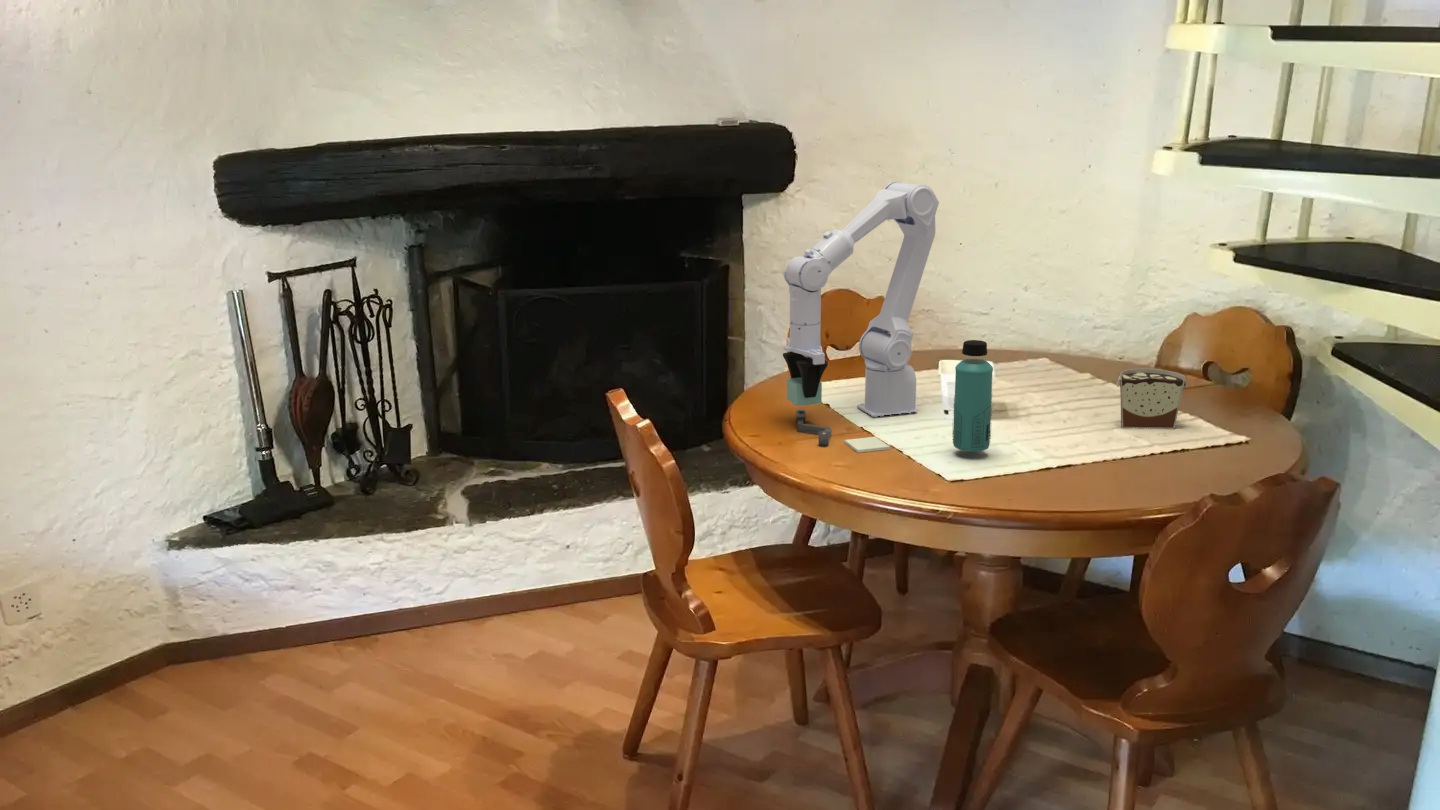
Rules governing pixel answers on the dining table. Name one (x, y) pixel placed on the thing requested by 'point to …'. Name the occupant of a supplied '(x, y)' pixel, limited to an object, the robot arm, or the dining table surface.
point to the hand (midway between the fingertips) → (804, 393)
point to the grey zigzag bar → (813, 428)
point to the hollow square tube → (801, 393)
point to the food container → (1150, 398)
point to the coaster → (866, 444)
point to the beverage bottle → (972, 399)
